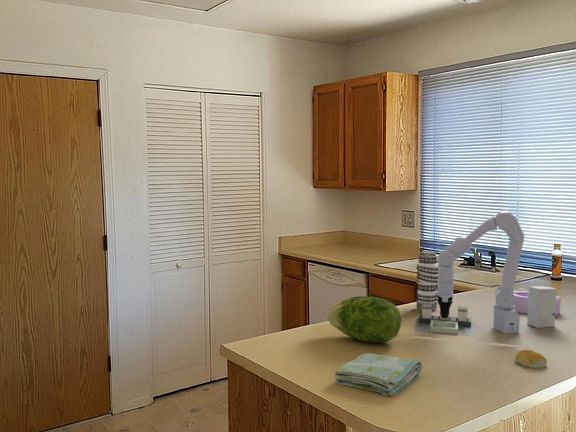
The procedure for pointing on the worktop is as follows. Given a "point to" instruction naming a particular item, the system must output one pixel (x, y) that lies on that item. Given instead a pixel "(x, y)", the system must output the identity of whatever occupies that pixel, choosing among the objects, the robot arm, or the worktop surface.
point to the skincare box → (541, 306)
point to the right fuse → (462, 313)
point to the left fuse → (427, 311)
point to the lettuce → (366, 318)
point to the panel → (445, 326)
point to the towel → (379, 373)
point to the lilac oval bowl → (522, 302)
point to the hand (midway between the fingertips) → (444, 316)
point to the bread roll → (530, 359)
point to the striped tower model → (427, 279)
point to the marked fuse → (444, 318)
